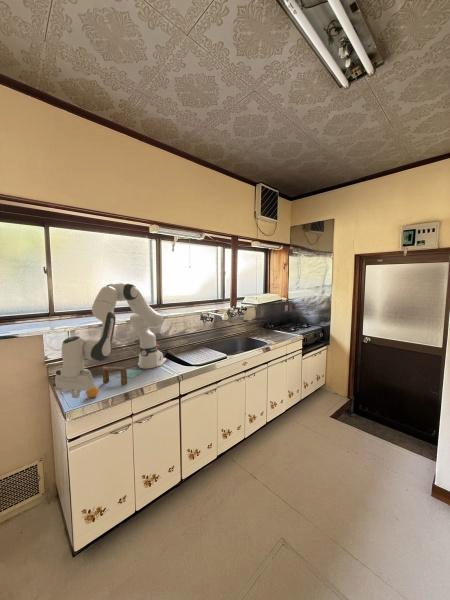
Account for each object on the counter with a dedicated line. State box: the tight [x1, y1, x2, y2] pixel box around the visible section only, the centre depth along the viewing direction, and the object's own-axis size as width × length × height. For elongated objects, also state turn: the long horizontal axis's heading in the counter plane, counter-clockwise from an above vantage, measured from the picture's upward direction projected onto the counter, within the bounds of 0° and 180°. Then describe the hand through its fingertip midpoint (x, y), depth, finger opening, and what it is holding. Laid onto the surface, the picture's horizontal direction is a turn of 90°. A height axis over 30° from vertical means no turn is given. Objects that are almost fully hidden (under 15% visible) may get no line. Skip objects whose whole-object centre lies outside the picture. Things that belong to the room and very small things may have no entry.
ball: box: [85, 385, 99, 398], centre depth 131 cm, size 6×6×6 cm
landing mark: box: [115, 369, 145, 379], centre depth 163 cm, size 13×13×1 cm
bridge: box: [101, 365, 128, 386], centre depth 148 cm, size 3×15×10 cm, turn 76°
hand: (75, 397), depth 121 cm, fingers closed
